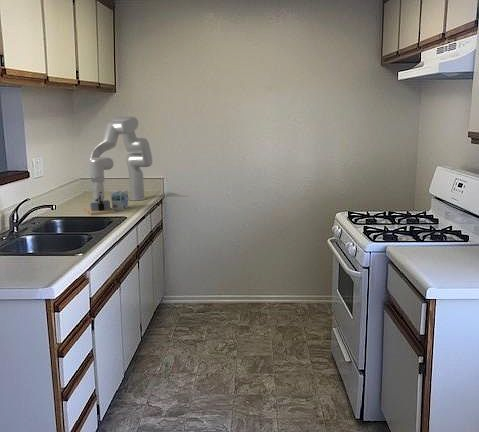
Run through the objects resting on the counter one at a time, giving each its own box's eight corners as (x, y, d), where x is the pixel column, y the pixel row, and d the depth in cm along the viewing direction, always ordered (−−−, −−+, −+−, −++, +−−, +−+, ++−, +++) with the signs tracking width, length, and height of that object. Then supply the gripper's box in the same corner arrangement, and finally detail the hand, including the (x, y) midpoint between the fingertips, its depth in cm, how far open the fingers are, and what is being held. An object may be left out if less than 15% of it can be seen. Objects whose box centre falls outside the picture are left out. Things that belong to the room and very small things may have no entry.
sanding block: (90, 209, 334) (89, 201, 333) (108, 208, 338) (108, 200, 337) (91, 211, 328) (90, 203, 327) (110, 209, 332) (109, 201, 332)
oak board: (83, 209, 344) (82, 207, 344) (105, 207, 350) (105, 205, 350) (91, 215, 325) (90, 212, 324) (114, 212, 331) (114, 210, 331)
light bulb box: (122, 210, 340) (120, 192, 337) (111, 210, 341) (110, 192, 339) (128, 207, 350) (127, 190, 348) (118, 207, 351) (117, 190, 349)
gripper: (88, 178, 336) (90, 208, 339) (95, 181, 321) (97, 212, 324) (100, 177, 339) (102, 206, 342) (107, 180, 324) (110, 210, 327)
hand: (100, 209), depth 333 cm, fingers closed on sanding block, 6 cm apart
